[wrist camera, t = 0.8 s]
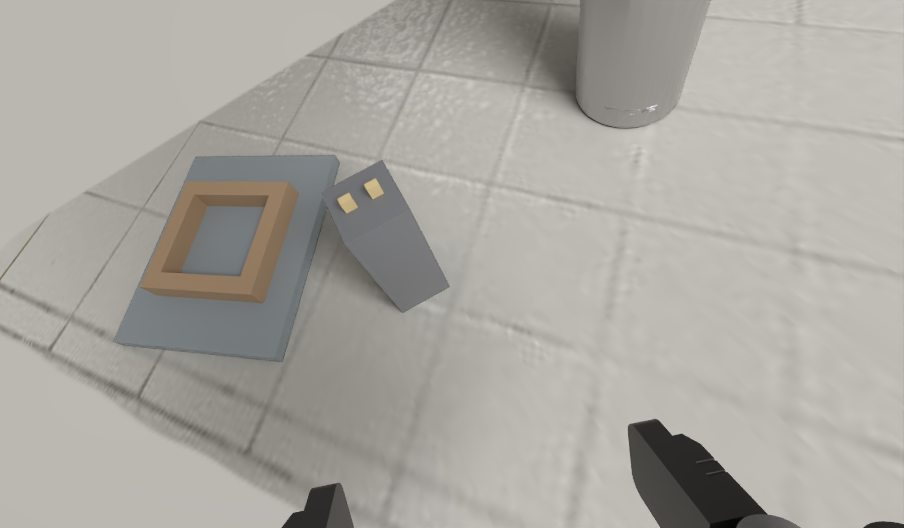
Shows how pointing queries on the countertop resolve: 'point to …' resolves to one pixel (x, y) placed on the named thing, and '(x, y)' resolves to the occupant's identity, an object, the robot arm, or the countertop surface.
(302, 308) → the countertop surface
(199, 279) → the holder
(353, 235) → the connector
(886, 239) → the countertop surface
